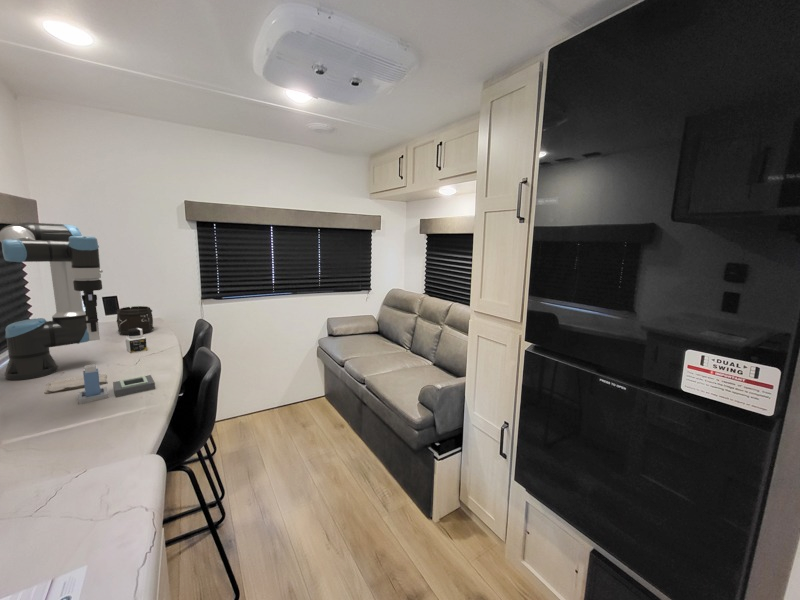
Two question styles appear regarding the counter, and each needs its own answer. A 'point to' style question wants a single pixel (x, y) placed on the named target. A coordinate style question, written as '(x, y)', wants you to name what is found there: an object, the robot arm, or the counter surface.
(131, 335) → the medicine bottle
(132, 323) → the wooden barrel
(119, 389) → the port block
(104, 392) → the grey square tray
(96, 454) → the counter surface
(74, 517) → the counter surface
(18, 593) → the counter surface
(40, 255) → the robot arm
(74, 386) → the washcloth
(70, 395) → the counter surface
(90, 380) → the plug
